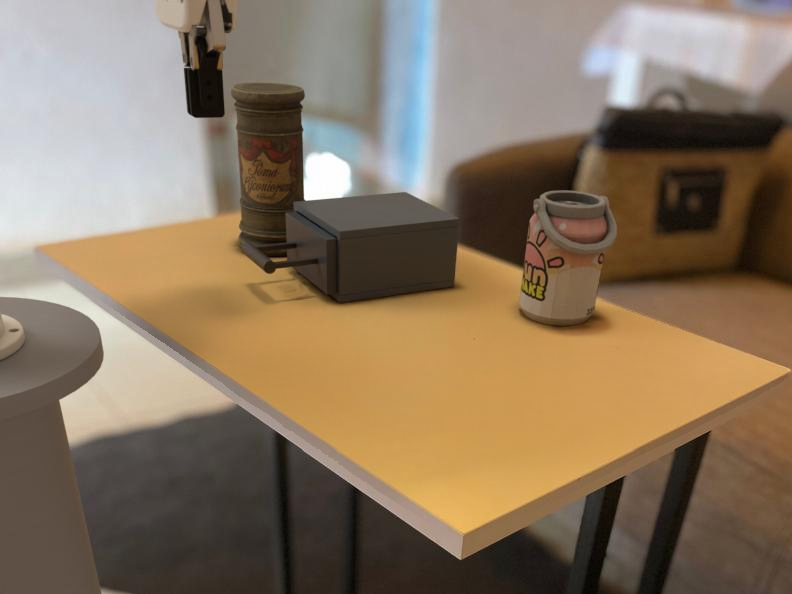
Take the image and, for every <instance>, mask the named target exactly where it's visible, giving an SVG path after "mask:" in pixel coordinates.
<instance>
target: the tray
mask: <svg viewBox="0 0 792 594" xmlns="http://www.w3.org/2000/svg"><path fill="white" fill-rule="evenodd" d="M286 239H287V242H285V243H276V244H267V245H258V246H254V245H252V244H251V243H249V242H246V243H244V244H243V245H242V248H241V253H242V254H243V255H244V256H246V257H247V258H248V259H249V260H250V261H251V262H253V263H254V264H255V265H256V266H258V267H259V268H260V269H261V270H262V271H263V272H264V273H266V274H269V275H272V274H274V273H275V272H276V270H278V269H286V268H292V269H294V270H295V271H297V272H298V273H299V274H300V275H301V276H303V277H304V278H305V279H307V280H308V281H309V282H311V283H312V285H314V286H315V287H317V288H318V289H319V290H321V291H322V292H323V293H325V294H326V295H330V294H334V293H337V239H336V238H335V237H333V236H332V235H330V234H329V233H327V232H325V231H324V230H322V229H321V226H319V225H318V224H316V223H315V222H313V221H311V220H310V219H308V220H307V219H306V218H304V217H303V216H301V215H300V214H298V213H297V212H295V211H294V212H286ZM283 249H287V256H286V260H278V261H274V260H272V259H271V258H270V256H266V255H265V254H264V253H262V252H265V251H274V250H283Z"/></svg>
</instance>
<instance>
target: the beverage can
mask: <svg viewBox="0 0 792 594" xmlns="http://www.w3.org/2000/svg"><path fill="white" fill-rule="evenodd" d="M608 198H609V197H607V196H606V195H596V194H594V193H590V192H584V191H579V190H578V191H577V190H565V189H564V190H550V191H546V192H544V193H542V194H540V195H539V198H535V199H534V200H533V205H532V206H533V211H534V213H533V215H532V216H531V217H530V219H529V222H528V230H527V237H526V245H525V246H526V247H525V254H524V262H523V271H522V277H521V286H520V293H519V301H518V302H519V303H518V304H519V305H518V306H519V308H520V310H521V311H522V312H523V314H524V315H525V316H526V317H527V318H529V319H530V320H532V321H535V322H537V323H541V324H545V325H550V326H559V327H560V326H562V327H563V326H566V327H567V326H576V325H580V324H582V323H584V322H586V321H587V320H588V319H590V318H591V316H592V315H593V314H594V312H595V311H596V310H595V309H596V305H597V298H598V292H599V286H600V282H601V275H602V270H603V265H604V259H605V253H606V251H607V250H609V249H611V248H612V246H613V245H614V243H615V241H616V240H617V237H618V236H617V235H618V234H617V233H618V232H617V231H618V225H617V222H616V219H615V217H614V214H613V213H612V210H611V208H610V201H609V199H608Z"/></svg>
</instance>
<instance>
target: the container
mask: <svg viewBox="0 0 792 594" xmlns="http://www.w3.org/2000/svg"><path fill="white" fill-rule="evenodd" d="M230 95H231V97H232V98H233V99H234V101H235V102H234V103H233V107H234V109H235V112H236V125H235V130H236V136H237V157H238V168H239V187H240V189H239V190H240V198H239V205H240V217H241V219H240V221H239V224H238V229H239V230H240V233H239V234H238V244H239V246H240V248H241V249H242V245H243V244H244V243H246V242H249V243H251V244H252V245H254V246H258V245H267V244H276V243H285V242H287V239H286V212H294V204H293V202H296V201H306V199H305V183H304V181H305V180H304V177H305V176H304V140H303V139H304V138H303V137H304V135H303V133H304V128H303V124H302V123H303V122H302V121H303V119H302V112H303V108H304V106H303V104H301V102H303V101H304V99H305V97H306V94H305V90H304V88H303V87H301V86H297V85H293V84H285V83H278V82H277V83H274V82H243V83H237V84H234V85H232V86H231V89H230ZM262 253H264V254H265V255H266V256H267V257H287V249H283V250H274V251H265V252H262Z"/></svg>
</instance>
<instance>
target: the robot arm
mask: <svg viewBox="0 0 792 594" xmlns="http://www.w3.org/2000/svg"><path fill="white" fill-rule="evenodd" d="M155 9H156V10H155V11H156V17H157V19H158V21H159V22H160V23H161V24H162V25H163V26H164V27H167V28H169V29H172V30H175V31H177V35H178V38H179V40H180V41H179V42H180V48H181V57H182V63H183V77H184V89H185V101H186V111H187V114H188V115H190V116H191V117H192V118H194V119H214V118H215V119H216V118H217V119H218V118H219V119H220V118H223V117H224V116H225V115H226V109H225V93H224V77H223V75H224V74H223V69H224V68H223V67H224V62H223V61H224V59H223V58H224V56H223V52H224V51H225V50H226V47H227V41H226V34H230V33H232V32H234V30H235V29H236V27H237V24H238V0H155ZM24 341H25V335H24V330H23V327H22V325H21V323H20V322H18V321H17V320H15V319H14V318H11V317H9V316H7V315H3V314H1V312H0V360H3V359H5V358H7V357H9V356H10V355H12V354H14V353H15V352H16V351H18V350H19V349H20V348H21V346H22V345H23V344H24Z"/></svg>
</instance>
